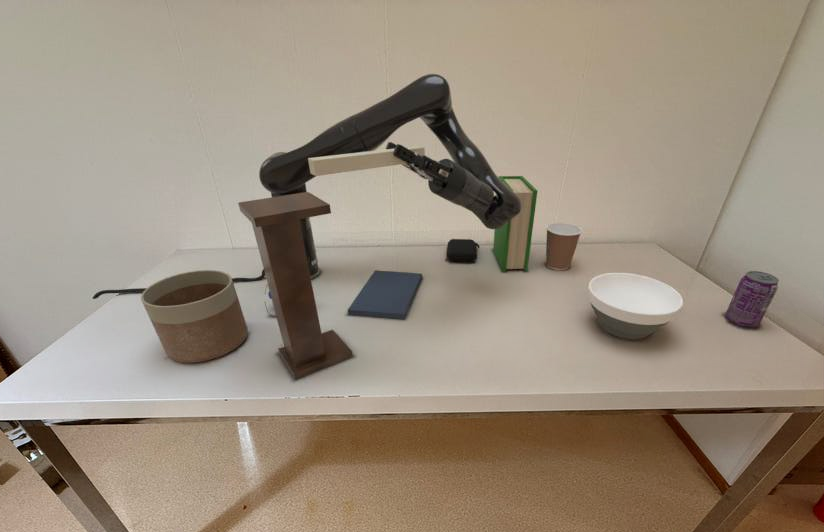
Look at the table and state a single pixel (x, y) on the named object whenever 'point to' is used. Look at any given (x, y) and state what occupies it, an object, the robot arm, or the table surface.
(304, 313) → the pedestal
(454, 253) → the carrying case
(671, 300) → the bowl
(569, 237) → the coffee cup
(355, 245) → the table surface
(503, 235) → the hardback book
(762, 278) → the beverage can
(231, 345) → the planter
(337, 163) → the rod
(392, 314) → the notebook
